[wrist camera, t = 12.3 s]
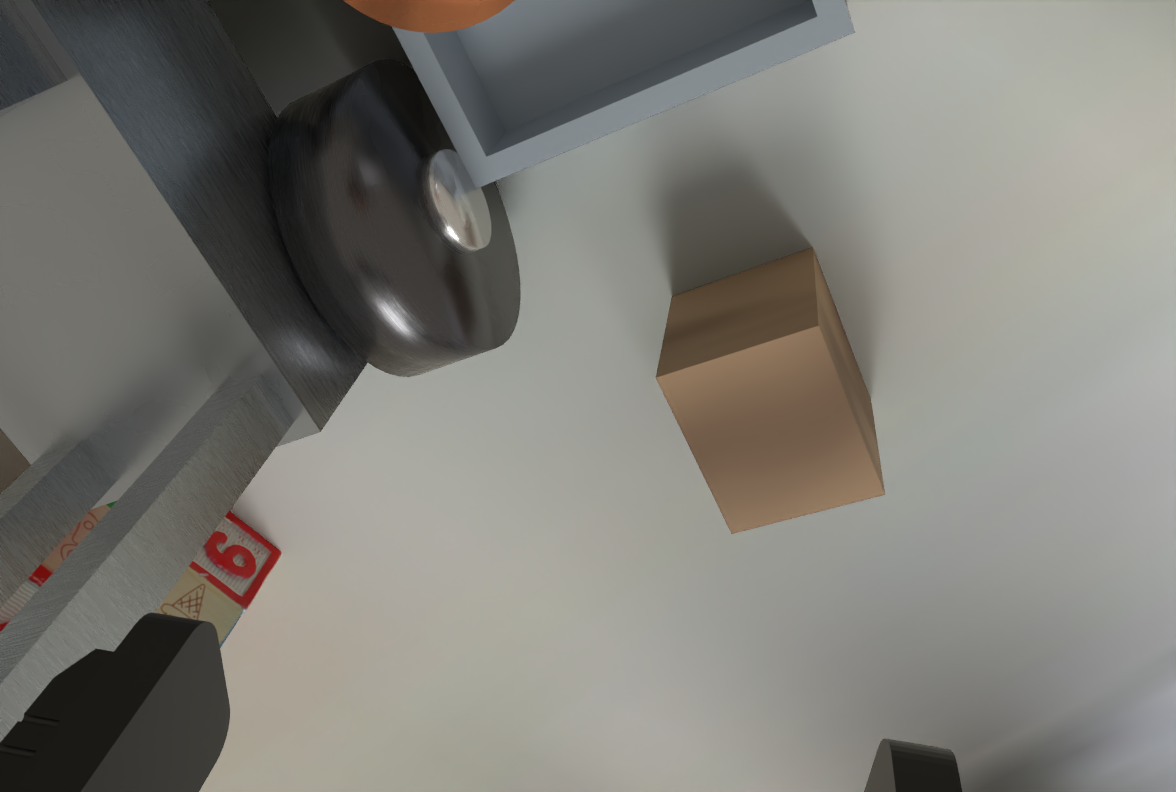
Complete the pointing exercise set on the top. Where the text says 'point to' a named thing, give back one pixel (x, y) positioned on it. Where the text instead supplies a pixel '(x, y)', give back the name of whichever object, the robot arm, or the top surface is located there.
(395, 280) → the trolley
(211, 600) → the stack of blocks
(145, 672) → the robot arm
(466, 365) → the top surface
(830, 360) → the block
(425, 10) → the pin
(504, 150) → the tray
